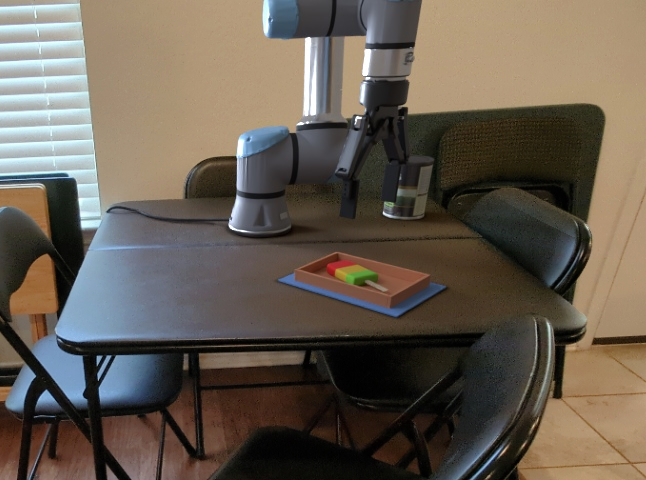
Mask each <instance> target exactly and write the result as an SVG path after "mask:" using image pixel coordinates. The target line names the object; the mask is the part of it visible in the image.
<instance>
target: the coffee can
mask: <svg viewBox="0 0 646 480" xmlns="http://www.w3.org/2000/svg"><path fill="white" fill-rule="evenodd" d="M408 160H409V161H408V164H407V165H401V173H400V179H399V186H398V192H397V199H396V202H395V203H391V202H385V201H384V203H383V210H382V215H383V216H384V217H387V218H390V219H393V220H394V219H395V220H403V221H413V220H420V219H422V218H424V217H425V212H426V205H427V201H428V194H429V188H430V182H431V177H432V172H433V167H434V163H435V158H434V157H431V156H428V155H421V154H410V158H409V159H408ZM389 164H390V165H391V163H389Z"/></svg>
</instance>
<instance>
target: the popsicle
mask: <svg viewBox="0 0 646 480" xmlns="http://www.w3.org/2000/svg"><path fill="white" fill-rule="evenodd" d="M327 273H328V274H330V275H332V276H334V277H336V278H338V279H339V280H341V281H343V282H346V283H349V284H353V285H356V286H360V285H365V284H369V285H371V286H373V287H375V288H377V289H379V290H381V291H383V292H388V289H386V288H384V287H382V286H380V285H378V284H376V283H374V282H377V281H378V274H377V273H375V272H372V271H370V270H368V269H366V268H364V267H362V266H360V265H357V264H355V263H353V262H351V261H347V260H344V261H338V262H333V263H329V264H328V265H327Z"/></svg>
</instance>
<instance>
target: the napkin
mask: <svg viewBox="0 0 646 480" xmlns="http://www.w3.org/2000/svg"><path fill="white" fill-rule="evenodd" d="M294 275H295V272H293V273H291V274H288V275H285V276H284V277H281V278H279V279H277V281H278V282H280V283H283V284H286V285H289V286H293V287H295V288H299V289H302V290H304V291H309V292H312V293H316V294H318V295H322V296H325V297H328V298H332V299H334V300H335V299H336V300H338V301H341V302H345V303H348V304H351V305H355V306H357V307H360V308H364V309H367V310H371V311H374V312H377V313H380V314H383V315H386V316H390V317H393V318H399V317H401V316H402V315H404V314H405V313H407V312H408V311H410V310H412V309H414V308H415V307H417V306H419V305H420V304H422V303H424V302H425V301H427V300H429V299H430V298H432V297H433V296H435V295H437V294H438V293H440V292H441V291H443V290H445V289H447V286H446V285H443V284H439V283H436V282H435V283H434V282H431V281H430V284H429V286H428V287H426V288H425V289H423V290H421V291H420V292H418V293H416V294H414V295H413V296H411V297H409V298H407V299H406V300H404V301H402V302H401V303H399V304H397V305H395V306H394V307H392V308H390V309H389V308H386V307H382V306H379V305H376V304H372V303H369V302H366V301H362V300H359V299H356V298H352V297H349V296H345V295H342V294H339V293H335V292H332V291H329V290H325V289H322V288H319V287H315V286H312V285H309V284H305V283H302V282H299V281H295V280H294Z"/></svg>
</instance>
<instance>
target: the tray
mask: <svg viewBox="0 0 646 480" xmlns="http://www.w3.org/2000/svg"><path fill="white" fill-rule="evenodd" d="M344 260H347V261H351V262H353V263H355V264H357V265H360V266H362V267H364V268H366V269H368V270H370V271H372V272H375V273H377V274H378V281H377V282H374V283H376V284H378V285H380V286H382V287H384V288H386V289H388V292H383V291H381V290H379V289H377V288H375V287H373V286H371V285H369V284H365V285H360V286H356V285H353V284H349V283H346V282H343V281H341V280H339V279H338V278H336V277H334V276H332V275H330V274H328V273H327V265H328V264H329V263H333V262H338V261H344ZM294 273H295V275H294V280H295V281H299V282H302V283H305V284H309V285H312V286H315V287H319V288H322V289H325V290H329V291H332V292H335V293H339V294H342V295H345V296H349V297H352V298H356V299H359V300H362V301H366V302H369V303H372V304H376V305H379V306H382V307H386V308H389V309H390V308H392V307H394V306H395V305H397V304H399V303H401V302H402V301H404V300H406V299H407V298H409V297H411V296H413V295H414V294H416V293H418V292H420V291H421V290H423V289H425V288H426V287H428V286H429V284H430V282H431V278H432V274H429V273H426V272H422V271H418V270H413V269H409V268H405V267H401V266H397V265H393V264H390V263H385V262H380V261H377V260H373V259H369V258H364V257H360V256H356V255H352V254H349V253H345V252H340V251H335V252H333V253H330V254H328V255H326V256H323V257H320V258H319V259H316V260H314V261H311V262H309V263H307V264H304V265H302V266H299V267H297V268H295V269H294Z"/></svg>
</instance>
